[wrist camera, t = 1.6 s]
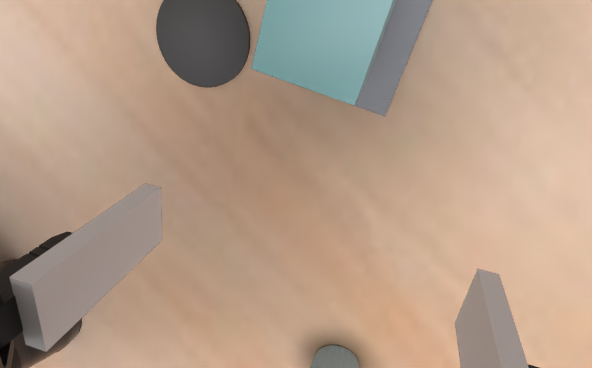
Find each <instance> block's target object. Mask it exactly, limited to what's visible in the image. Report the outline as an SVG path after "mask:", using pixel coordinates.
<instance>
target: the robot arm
mask: <svg viewBox="0 0 592 368" xmlns="http://www.w3.org/2000/svg"><path fill="white" fill-rule="evenodd" d="M161 241H162V209H161V187H157V186H153V185H149V184H144V185H142V186H141V187H139V188H138V189H136V190H135V191H133V192H132V193H131V194H129V195H128V196H126V197H125V198H123V199H122V200H120V201H119V202H117V203H116V204H115V205H113V206H112V207H110V208H109V209H107V210H106V211H104V212H103V213H101V214H100V215H99V216H97V217H96V218H94V219H93V220H91V221H90V222H88V223H87V224H86V225H84V226H83V227H81V228H80V229H78V230H77V231H75V232H74V233H71V232H65V233H62V234H60V235H57V236H54V237H52V238H50V239H49V240H47V241H46V242H44V243H42V244H41V245H39V247H36V248H35V249H33V250H32V251H30V252H29V254H26V255H24V256H23V257H21V258H20V259H18V260H17V261H15V260H14V261H7V262H4V263H2V264H0V368H29V367H31V366H33V365H34V364H36V363H38V362H40V361H42V360H44V359H45V358H47V357H49V356H50V355H52V354H54V353H55V352H58V351H60V350H61V349H63V348H64V347H66V346H67V345H68V344H69V343H70V342H71V341H72V340H73V339H74V338H75V337H76V335H77V334H78V333H79V330H80V327H81V318H82V317H83V316H84V315H85V314H86V313H87V312H88V311H89V310H90V309H91V308H92V307H93V306H95V305H96V304H97V303H98V302H99V301H100V300H101V299H102V298H103V297H104V296H105V295H106V294H107V293H108V292H109V291H110V290H111V289H112V288H113V287H114V286H115V285H116V284H117V283H118V282H119V281H120V280H122V279H123V278H124V277H125V276H126V275H127V274H128V273H129V272H130V271H131V270H132V269H133V268H134V267H135V266H136V265H137V264H138V263H139V262H140V261H141V260H142V259H143V258H144V257H145V256H146V255H147V254H148V253H150V252H151V251H152V250H153V249H154V248H155V247H156V246H157V245H158V244H159V243H160V242H161ZM455 328H456V335H457V343H458V351H459V358H460V366H461V368H539V367H535V366H532V365H528V364H527V361H526V358H525V354H524V351H523V348H522V345H521V342H520V339H519V335H518V332H517V329H516V326H515V323H514V320H513V316H512V313H511V310H510V307H509V304H508V301H507V297H506V294H505V291H504V288H503V285H502V282H501V278H500V275H499V274H496V273H492V272H489V271H485V270H481V269H477V271H476V274H475V276H474V279H473V281H472V283H471V286H470V288H469V290H468V293H467V295H466V297H465V300H464V302H463V305H462V307H461V309H460V312H459V314H458V316H457V319H456V321H455Z"/></svg>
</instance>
